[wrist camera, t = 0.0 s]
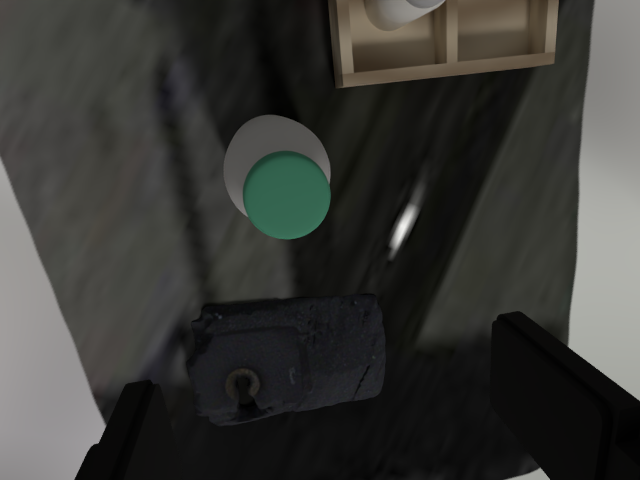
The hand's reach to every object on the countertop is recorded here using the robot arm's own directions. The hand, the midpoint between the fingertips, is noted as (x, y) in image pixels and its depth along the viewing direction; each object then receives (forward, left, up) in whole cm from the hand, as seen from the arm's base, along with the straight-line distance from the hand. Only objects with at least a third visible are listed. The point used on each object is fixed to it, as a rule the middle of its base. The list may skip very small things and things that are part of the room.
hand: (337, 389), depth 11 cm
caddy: (-15, +17, -31) cm, 39 cm away
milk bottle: (-3, 0, -31) cm, 32 cm away
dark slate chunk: (+20, -1, -32) cm, 38 cm away
